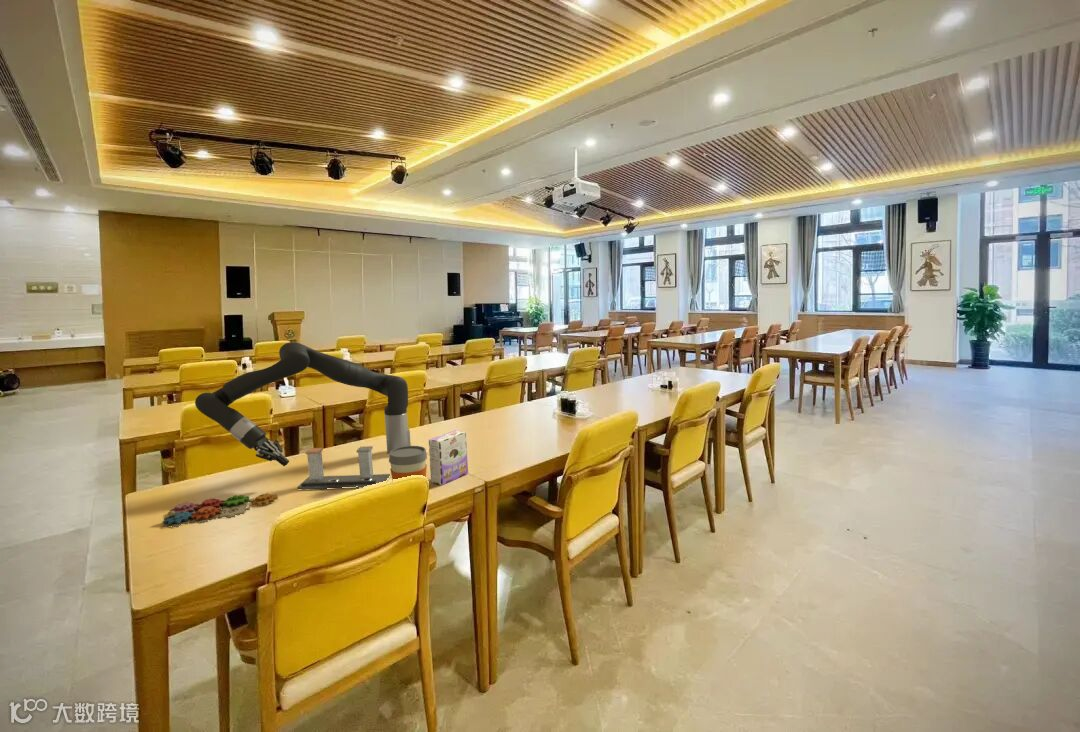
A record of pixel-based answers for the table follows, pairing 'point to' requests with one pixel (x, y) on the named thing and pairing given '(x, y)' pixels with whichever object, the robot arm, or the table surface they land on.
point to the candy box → (448, 457)
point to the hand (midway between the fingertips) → (286, 463)
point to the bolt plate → (350, 480)
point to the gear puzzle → (213, 509)
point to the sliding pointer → (315, 464)
